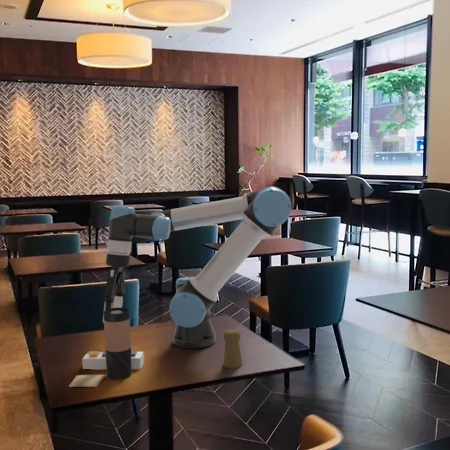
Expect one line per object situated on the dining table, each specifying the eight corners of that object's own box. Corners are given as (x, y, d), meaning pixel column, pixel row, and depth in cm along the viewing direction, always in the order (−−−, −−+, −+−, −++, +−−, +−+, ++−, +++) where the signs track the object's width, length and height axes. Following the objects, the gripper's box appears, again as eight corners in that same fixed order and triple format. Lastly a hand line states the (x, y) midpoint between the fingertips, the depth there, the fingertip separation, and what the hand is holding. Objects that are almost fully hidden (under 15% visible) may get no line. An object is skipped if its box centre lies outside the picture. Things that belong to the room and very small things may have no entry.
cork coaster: (103, 376, 170) (103, 374, 170) (96, 387, 162) (96, 385, 162) (77, 377, 170) (77, 375, 170) (69, 387, 162) (69, 385, 162)
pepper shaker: (228, 369, 173) (227, 334, 172) (219, 363, 179) (218, 329, 178) (245, 365, 176) (245, 331, 175) (236, 360, 182) (235, 326, 180)
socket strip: (143, 362, 181) (143, 348, 181) (140, 369, 176) (140, 355, 175) (88, 362, 182) (87, 349, 182) (82, 369, 176) (82, 356, 176)
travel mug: (133, 378, 168) (130, 312, 166) (107, 381, 166) (104, 315, 164) (130, 369, 175) (127, 306, 173) (105, 372, 173) (102, 308, 171)
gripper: (115, 251, 196) (109, 312, 196) (97, 254, 171) (90, 324, 171) (137, 253, 196) (131, 314, 196) (121, 256, 171) (115, 327, 171)
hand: (112, 319), depth 184 cm, fingers open, 13 cm apart
